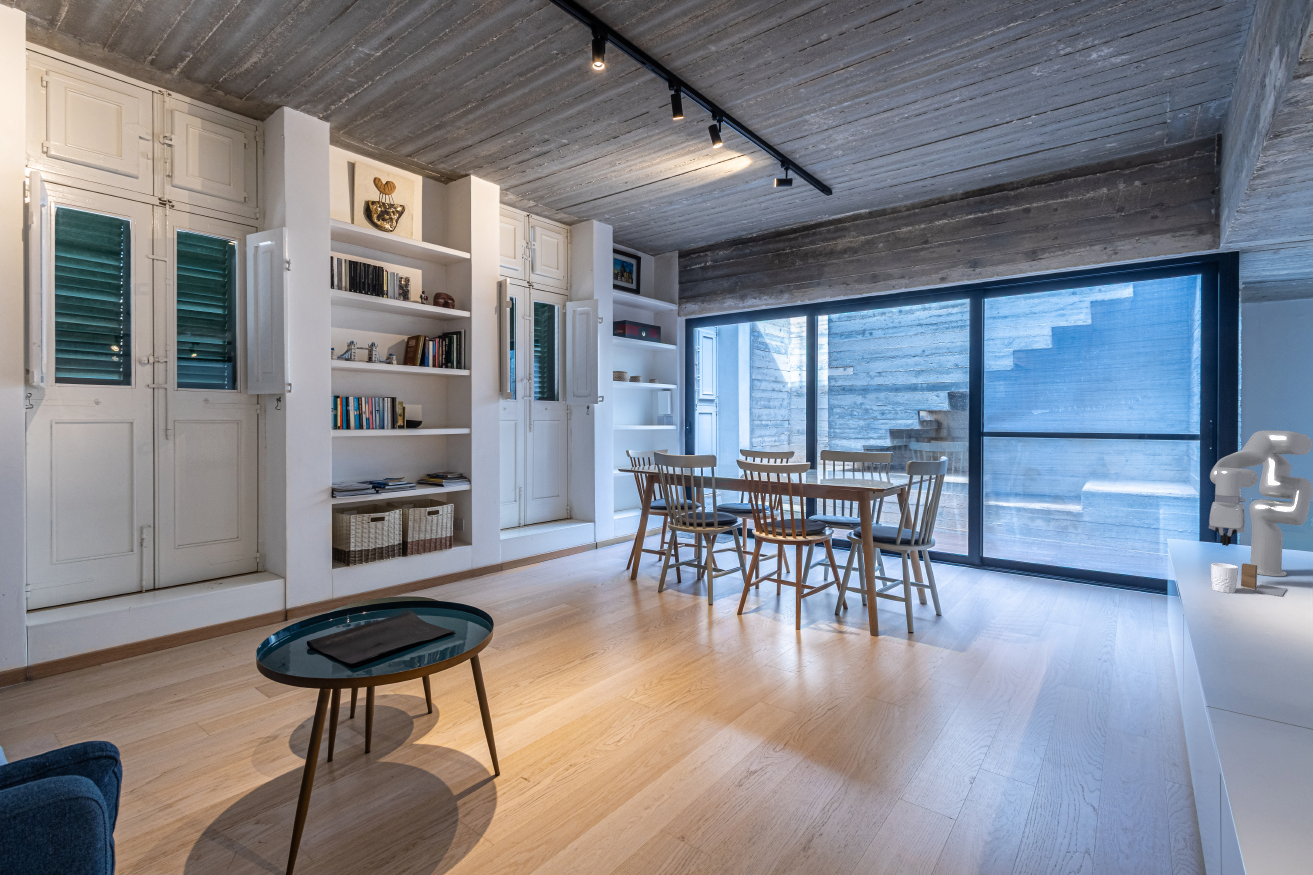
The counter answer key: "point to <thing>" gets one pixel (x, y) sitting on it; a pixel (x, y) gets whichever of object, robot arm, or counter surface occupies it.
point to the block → (1249, 576)
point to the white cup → (1224, 577)
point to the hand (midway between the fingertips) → (1225, 545)
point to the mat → (1270, 590)
